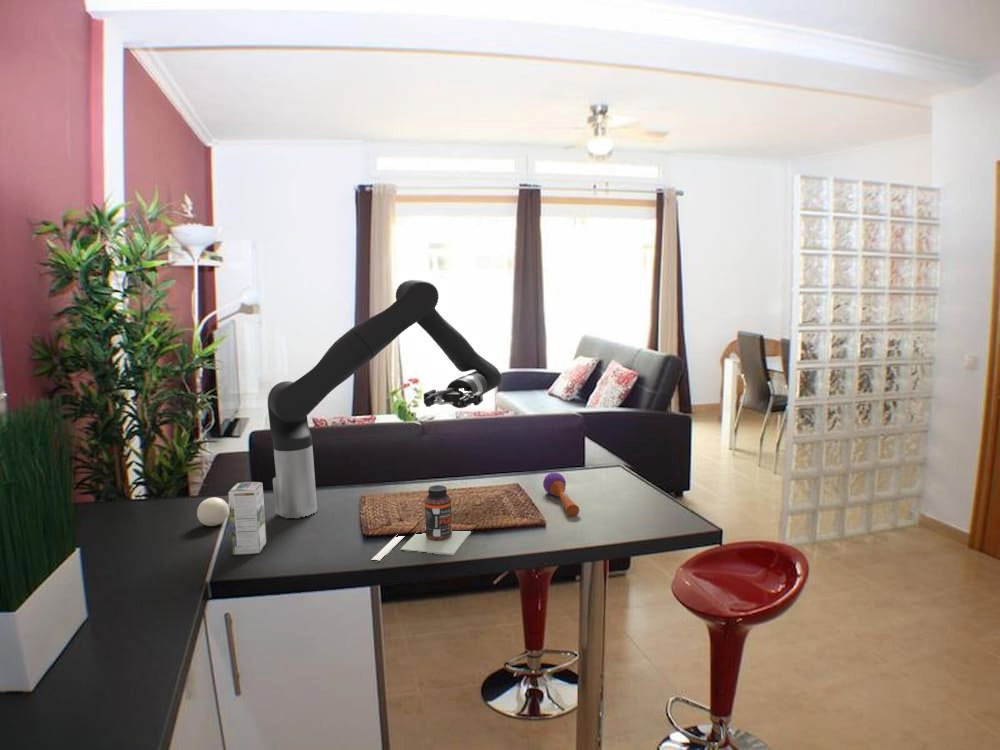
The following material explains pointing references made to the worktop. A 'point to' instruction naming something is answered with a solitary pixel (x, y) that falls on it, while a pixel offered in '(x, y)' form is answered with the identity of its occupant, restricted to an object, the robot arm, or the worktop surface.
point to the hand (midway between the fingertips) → (443, 403)
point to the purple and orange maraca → (560, 492)
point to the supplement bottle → (438, 513)
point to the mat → (437, 543)
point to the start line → (388, 548)
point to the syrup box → (247, 518)
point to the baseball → (212, 511)
